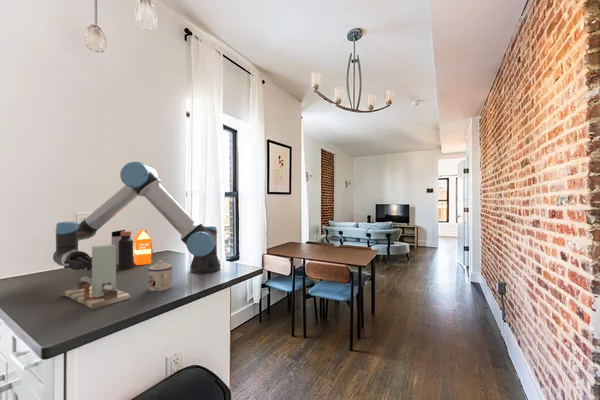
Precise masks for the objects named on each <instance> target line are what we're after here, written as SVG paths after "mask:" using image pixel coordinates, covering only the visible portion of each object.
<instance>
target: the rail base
mask: <svg viewBox="0 0 600 400" xmlns="http://www.w3.org/2000/svg"><path fill="white" fill-rule="evenodd" d="M63 292H64V293H63V295H64V296H66V297H68V298H70V299H72V300H74V301H77V302H78V303H80V302H81V303H80V304H82V303H83V304H82V305H84V304H85V306H86V305H87V307H88V308H91V309H98V308H101V307H104V306H109V305H113V304H115V303H118V302H123V301H126V300H129V299H131V294H130V293H127V292H126V291H122V290H119V289H117V288H116V290H113V291H112V292H109V291H108V292H104V296H101V297H94V296H92V285H91V284H88V283H85V282H82V281H78V282H77V287H76V288H72V289H67V290H64V291H63Z"/></svg>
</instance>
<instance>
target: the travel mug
mask: <svg viewBox="0 0 600 400" xmlns="http://www.w3.org/2000/svg"><path fill="white" fill-rule="evenodd" d="M123 231H126V230H125V229H121V230H116V231H112V232H111V245H116V267H119V249H118V242H119V240H120V239H121V232H123Z"/></svg>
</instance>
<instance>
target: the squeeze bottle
mask: <svg viewBox="0 0 600 400" xmlns="http://www.w3.org/2000/svg"><path fill="white" fill-rule="evenodd" d="M147 230H148V229H147ZM147 230H146V229H145V230H144V231H145V232H146V234H147V235H148V236H149V237H150V238H151V236H150V235H149V234H148V231H147ZM152 242H153V241H152V240H151V257H153V253H154V251H153V243H152Z"/></svg>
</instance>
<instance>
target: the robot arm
mask: <svg viewBox="0 0 600 400" xmlns="http://www.w3.org/2000/svg"><path fill="white" fill-rule="evenodd" d="M158 175H159V174H158V173H157V170H156V169H155V168H153V167H152V166H150V165H148V164H146V163H144V162H141V161H131V162H128V163H126V164H125V165H124V166H123V167H122V168H121V169H120V174H119V176H120V180H121V182H122V184H124V186H123V187H122V188H121V189H119V190H117V192H115V194H113V195H112V196H111V197H109V199H107V200H106V201H105V202H104V203H103V204H102V205H100V206H99V207H98V208H96V209H95V210H94V211H92V213H90V214H89V215H88V216H86V217H85V218H84V219H83V220H82V221H81V222H80V223H78V222H77V221H58V222H57V223H56V224H55V225H56V226H55V251H54V253H53V255H52V259H53V262H54V263H55V264H57V265H58V266H63V268H64V269H71V270H75V271H79V270H85V269H86V271H88V272H89V271H92V256H90V254H88V252H86V251H82V250H79V241H82V240H89V239H91V238H93V237H94V236H95V235H96V234H97V232H98V230H100V229H101V228H102V227H103V226H104V225H106V224H107V223H109V221H110V220H111V219H112V218H113V217H115V216H116V215H117V214H119V213H120V212H121V211H122V210H123V209H124V208H126V207H127V206H128V205H129V204H131V202H133V201H135V199H136V198H137V197H145V199H146V200H148V202H149V203H150V204H151V205H152V206H153V207H154V208H155V209H156V210H157V211H158V212H159V214H161V215H162V216H163V218H164V219H165V220H166V221H167V222H168V223H169V224H170V225H171V226H172V227H173V228H174V229H175V231H177V232H178V233H179V234H180V240H181V241H182V243H183V244H185V246H186V248H187V251H188V252H189V253H190V254H191V255H193V257H192V261H191V263H190V266H189V267H190V268H189V272H190V273H193V274H209V273H210V274H211V273H215V272H218V271H220V270H221V263H220V260H219V257H218V242H217V241H218V240H217V239H218V236H217V235H218V230H217V227H216V226H214V225H213V226H211V225H207V226H206V225H203V224H202V223H201V222H196V221H195V219H194V220H193V218H192V217H191V216H190V215H189V214H188V213H187V211H185V209H184V208H183V207H182V206H181V205H180V204H179V203H178V202H177V201H176V200H175V199H174V198H173V196H172V195H171V194H169V192H168V191H167V190H166V189H165V188H164V187H163V186H162V185H161V183H162V180H161V179H160V178H159V177H158Z"/></svg>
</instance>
